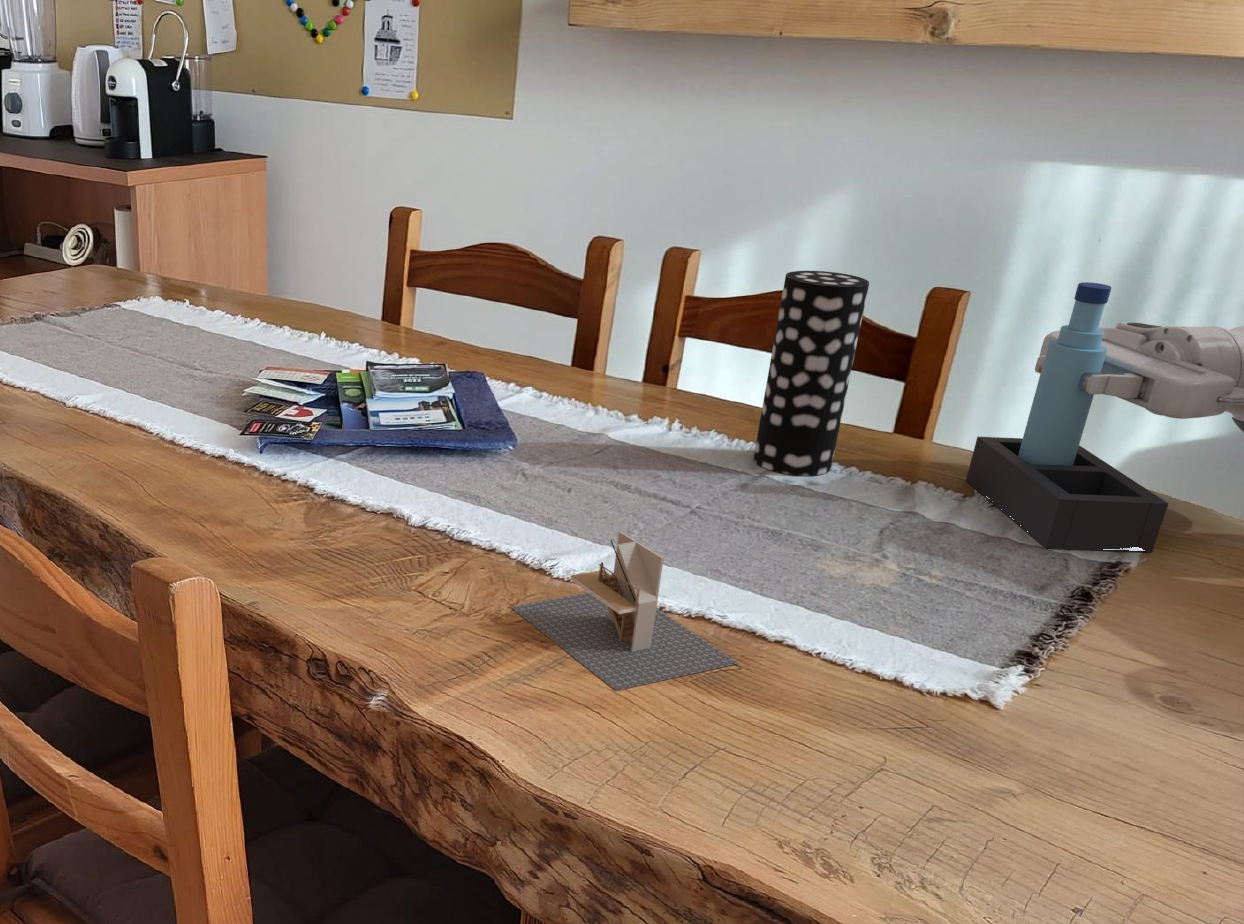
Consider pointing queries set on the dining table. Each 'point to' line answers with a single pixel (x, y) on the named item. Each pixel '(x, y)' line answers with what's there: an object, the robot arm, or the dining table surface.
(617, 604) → the architectural model
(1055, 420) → the bottle
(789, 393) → the spotted tube
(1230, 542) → the dining table surface
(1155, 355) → the robot arm
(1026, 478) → the holder
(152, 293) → the dining table surface
